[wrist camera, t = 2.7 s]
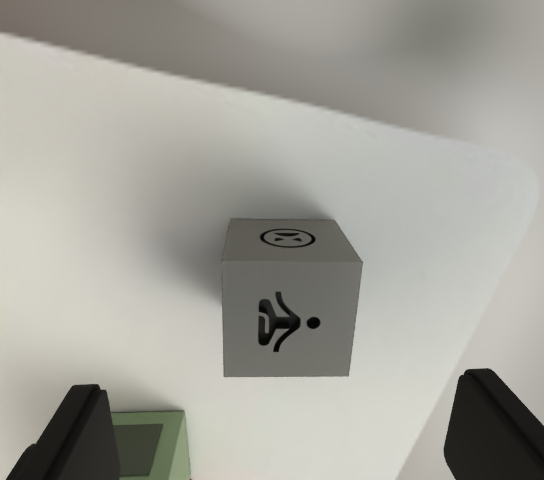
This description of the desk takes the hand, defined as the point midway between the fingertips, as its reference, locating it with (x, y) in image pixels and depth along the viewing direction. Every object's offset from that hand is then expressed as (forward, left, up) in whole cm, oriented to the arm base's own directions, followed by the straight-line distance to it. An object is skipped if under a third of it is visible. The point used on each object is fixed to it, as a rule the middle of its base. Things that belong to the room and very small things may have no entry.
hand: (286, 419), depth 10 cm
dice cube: (0, 0, -10) cm, 10 cm away
